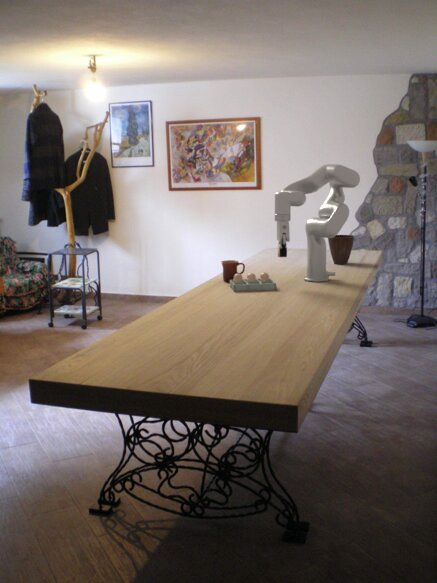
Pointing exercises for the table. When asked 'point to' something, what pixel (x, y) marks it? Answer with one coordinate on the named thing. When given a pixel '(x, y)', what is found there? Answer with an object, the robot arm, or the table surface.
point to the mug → (230, 269)
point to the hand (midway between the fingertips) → (282, 255)
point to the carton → (252, 283)
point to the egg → (279, 251)
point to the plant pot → (341, 248)
